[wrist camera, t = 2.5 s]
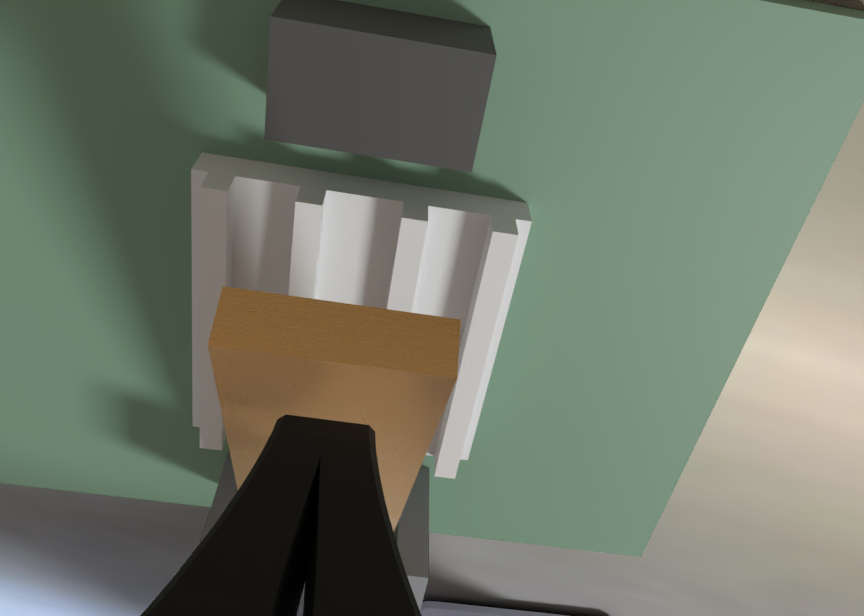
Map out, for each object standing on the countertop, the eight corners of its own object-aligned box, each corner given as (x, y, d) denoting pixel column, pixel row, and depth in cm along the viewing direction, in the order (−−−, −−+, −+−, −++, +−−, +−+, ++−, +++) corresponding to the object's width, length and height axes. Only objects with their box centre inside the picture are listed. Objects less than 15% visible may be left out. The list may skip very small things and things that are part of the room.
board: (633, 529, 28) (670, 668, 23) (-3, 454, 26) (-93, 590, 21) (874, 12, 18) (1017, 86, 14) (-129, -174, 16) (-344, -158, 12)
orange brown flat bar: (383, 536, 24) (378, 584, 23) (257, 522, 23) (248, 570, 23) (467, 309, 12) (463, 391, 11) (218, 273, 12) (197, 356, 11)
